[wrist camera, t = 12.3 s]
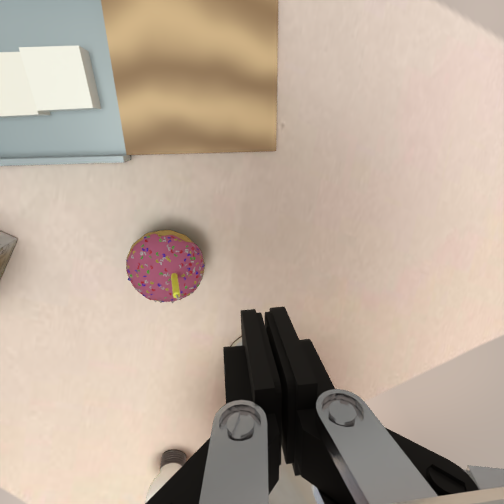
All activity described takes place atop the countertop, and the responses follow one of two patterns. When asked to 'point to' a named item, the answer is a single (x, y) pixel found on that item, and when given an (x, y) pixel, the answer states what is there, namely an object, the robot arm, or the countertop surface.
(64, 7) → the tray
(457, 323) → the countertop surface
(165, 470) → the light bulb
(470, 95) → the countertop surface
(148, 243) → the cupcake
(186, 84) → the board
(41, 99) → the tile
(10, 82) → the tile
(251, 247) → the countertop surface
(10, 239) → the coffee box
